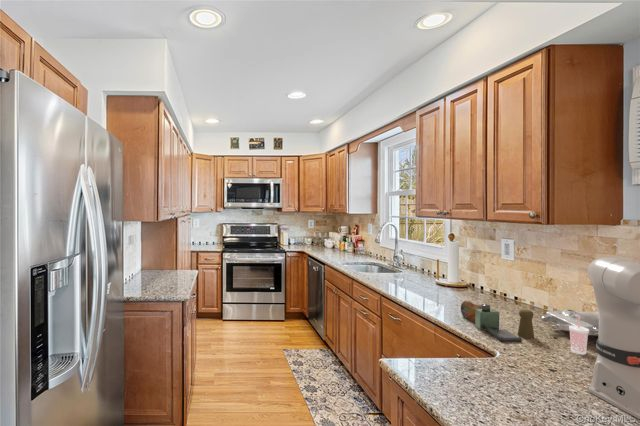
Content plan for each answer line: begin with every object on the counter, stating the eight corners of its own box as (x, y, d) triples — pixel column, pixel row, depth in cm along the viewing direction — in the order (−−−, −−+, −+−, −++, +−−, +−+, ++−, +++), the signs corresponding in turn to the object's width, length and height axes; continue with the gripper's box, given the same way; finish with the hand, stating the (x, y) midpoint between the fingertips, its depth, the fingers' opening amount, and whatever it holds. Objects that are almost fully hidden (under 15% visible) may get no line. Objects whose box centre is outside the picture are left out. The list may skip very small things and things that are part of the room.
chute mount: (521, 341, 140) (521, 316, 139) (495, 341, 139) (496, 316, 139) (498, 326, 157) (498, 303, 157) (475, 326, 157) (475, 303, 157)
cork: (536, 339, 142) (537, 312, 142) (520, 338, 143) (520, 311, 143) (530, 333, 148) (531, 308, 148) (515, 332, 149) (515, 307, 149)
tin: (460, 315, 172) (460, 298, 172) (465, 315, 173) (465, 298, 173) (481, 326, 158) (481, 307, 158) (487, 325, 159) (487, 307, 158)
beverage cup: (579, 356, 126) (579, 318, 126) (564, 349, 132) (565, 312, 132) (593, 354, 128) (593, 317, 127) (577, 348, 134) (578, 311, 133)
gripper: (602, 339, 136) (567, 339, 136) (564, 322, 157) (534, 322, 156) (602, 323, 136) (568, 323, 136) (564, 308, 156) (534, 308, 156)
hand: (549, 322), depth 146 cm, fingers open, 8 cm apart
